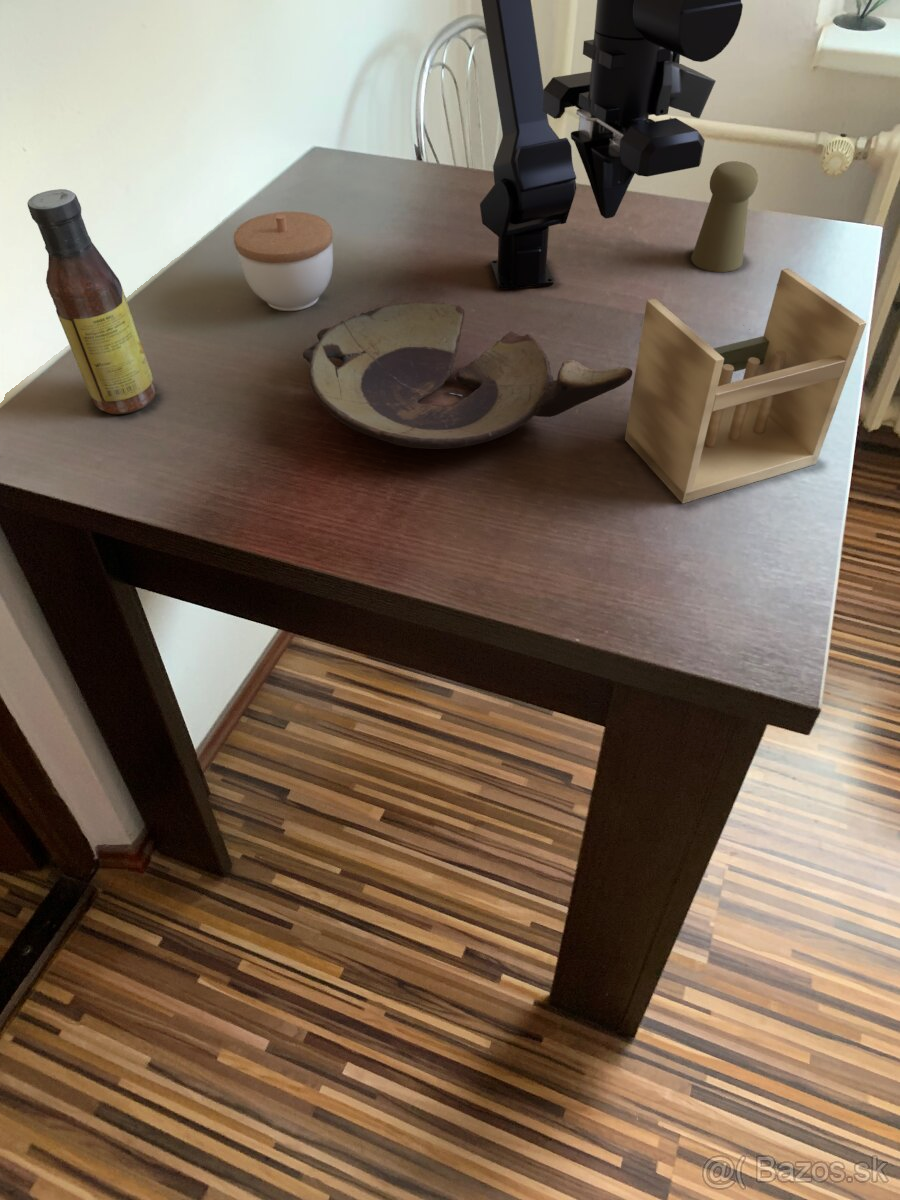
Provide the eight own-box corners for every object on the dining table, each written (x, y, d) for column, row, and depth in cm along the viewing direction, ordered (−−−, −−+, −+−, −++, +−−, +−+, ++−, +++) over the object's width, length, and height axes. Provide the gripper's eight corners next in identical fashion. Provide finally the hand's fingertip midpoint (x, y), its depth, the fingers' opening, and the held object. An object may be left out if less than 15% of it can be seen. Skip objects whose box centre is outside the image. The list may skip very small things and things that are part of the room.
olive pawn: (743, 274, 104) (766, 177, 96) (690, 269, 105) (709, 174, 97) (741, 250, 108) (763, 156, 100) (691, 247, 109) (709, 153, 101)
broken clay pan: (412, 321, 98) (408, 254, 92) (647, 420, 85) (660, 348, 79) (261, 413, 86) (247, 343, 81) (506, 545, 73) (509, 471, 67)
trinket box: (228, 311, 100) (210, 229, 93) (275, 269, 107) (262, 190, 100) (312, 328, 97) (300, 245, 90) (355, 284, 104) (347, 204, 97)
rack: (624, 439, 83) (646, 299, 72) (750, 405, 86) (788, 267, 76) (682, 503, 76) (715, 360, 66) (816, 464, 80) (867, 322, 69)
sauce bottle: (169, 388, 90) (111, 187, 75) (135, 423, 85) (67, 218, 71) (114, 377, 91) (47, 178, 77) (78, 411, 87) (-1, 208, 73)
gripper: (777, 46, 70) (734, 239, 82) (652, -6, 82) (629, 168, 93) (656, 65, 67) (629, 263, 79) (545, 8, 79) (535, 186, 91)
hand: (607, 216), depth 85 cm, fingers closed
